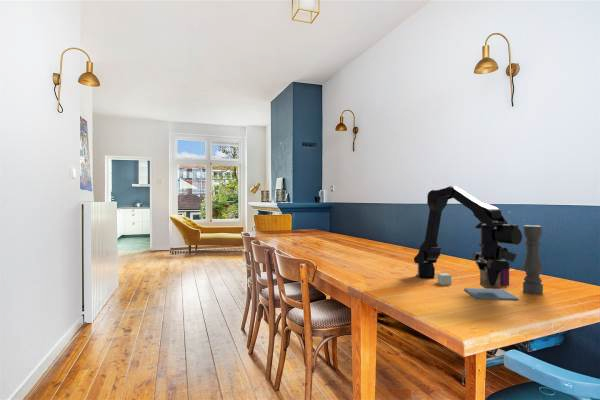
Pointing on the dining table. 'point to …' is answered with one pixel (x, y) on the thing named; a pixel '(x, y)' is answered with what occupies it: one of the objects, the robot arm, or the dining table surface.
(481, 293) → the placemat
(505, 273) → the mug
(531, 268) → the candle holder
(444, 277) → the sage block
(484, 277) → the walnut block
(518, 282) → the dining table surface
